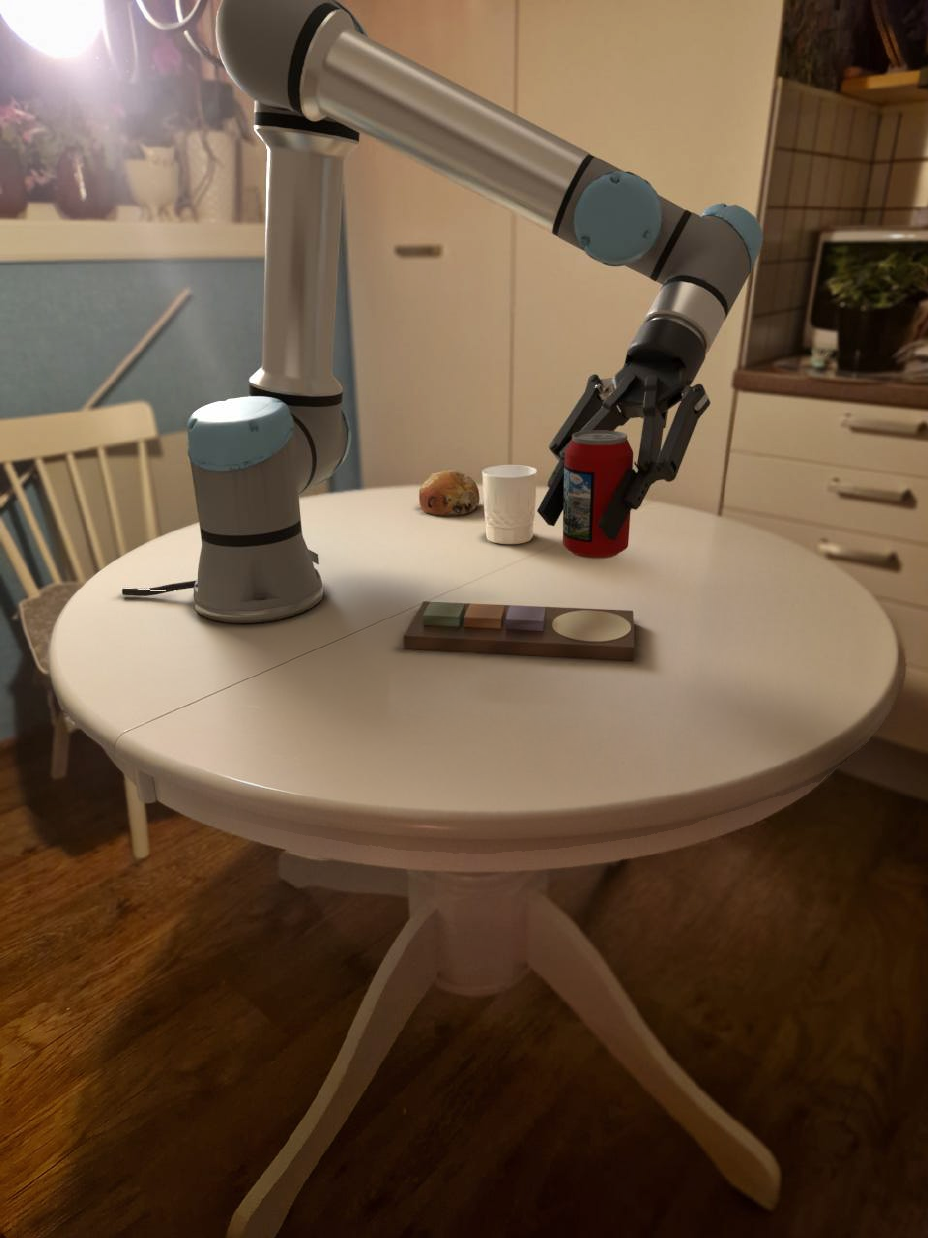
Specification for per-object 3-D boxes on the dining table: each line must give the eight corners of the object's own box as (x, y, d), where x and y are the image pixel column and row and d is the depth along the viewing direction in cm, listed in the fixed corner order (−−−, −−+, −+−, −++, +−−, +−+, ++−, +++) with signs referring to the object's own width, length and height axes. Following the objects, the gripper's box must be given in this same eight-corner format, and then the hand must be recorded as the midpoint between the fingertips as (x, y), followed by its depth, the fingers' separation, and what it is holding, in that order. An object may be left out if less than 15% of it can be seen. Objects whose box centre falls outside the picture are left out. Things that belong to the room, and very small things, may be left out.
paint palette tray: (403, 648, 92) (402, 625, 91) (423, 612, 101) (422, 591, 100) (633, 661, 88) (635, 636, 87) (632, 622, 97) (633, 600, 96)
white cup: (536, 530, 130) (538, 464, 126) (535, 546, 123) (536, 477, 119) (484, 529, 131) (484, 464, 127) (480, 545, 124) (479, 476, 120)
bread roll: (478, 522, 147) (476, 475, 147) (482, 512, 137) (480, 462, 137) (420, 524, 146) (418, 477, 147) (420, 514, 136) (418, 464, 137)
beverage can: (557, 543, 92) (559, 429, 88) (619, 540, 93) (625, 427, 88) (568, 563, 86) (571, 443, 81) (635, 560, 86) (642, 440, 82)
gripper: (772, 370, 86) (675, 565, 82) (608, 358, 99) (516, 526, 95) (753, 317, 81) (647, 523, 76) (582, 312, 94) (483, 488, 89)
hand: (575, 525), depth 86 cm, fingers closed on beverage can, 7 cm apart
